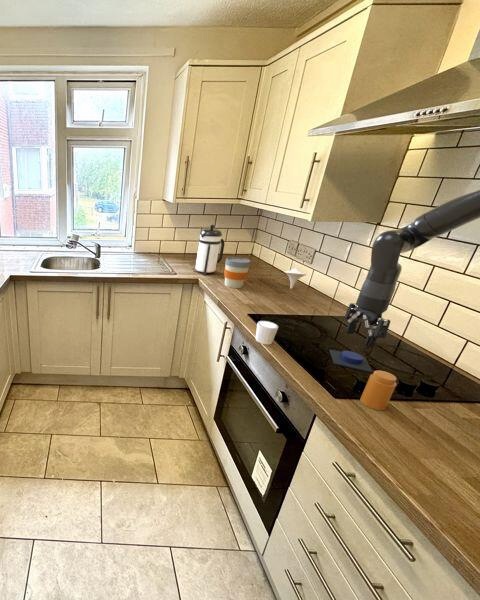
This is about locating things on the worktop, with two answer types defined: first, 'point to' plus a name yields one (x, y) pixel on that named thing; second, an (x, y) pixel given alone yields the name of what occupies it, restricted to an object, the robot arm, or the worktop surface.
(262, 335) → the white cylinder
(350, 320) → the robot arm
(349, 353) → the jar lid
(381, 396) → the jar
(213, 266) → the coffee press
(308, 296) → the worktop surface
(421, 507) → the worktop surface
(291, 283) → the mushroom
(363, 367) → the coaster
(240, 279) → the reusable coffee cup
